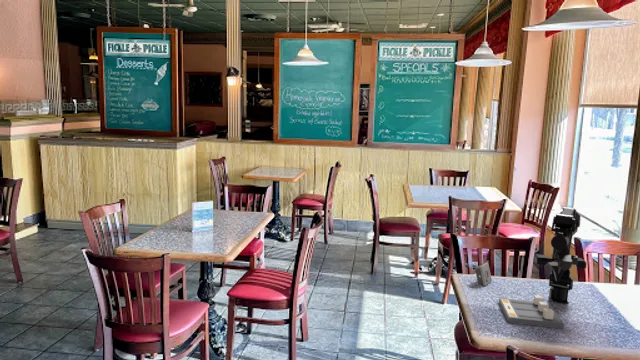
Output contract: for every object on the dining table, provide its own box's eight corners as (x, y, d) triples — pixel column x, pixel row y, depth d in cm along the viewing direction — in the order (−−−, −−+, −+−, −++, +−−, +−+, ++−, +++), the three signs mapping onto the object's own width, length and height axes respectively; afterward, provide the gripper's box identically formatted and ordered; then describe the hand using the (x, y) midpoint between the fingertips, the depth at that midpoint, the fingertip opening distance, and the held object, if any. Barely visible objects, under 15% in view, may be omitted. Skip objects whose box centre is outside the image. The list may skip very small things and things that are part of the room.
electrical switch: (485, 286, 220) (485, 267, 219) (474, 284, 223) (474, 265, 222) (492, 281, 227) (491, 263, 226) (481, 280, 230) (481, 261, 230)
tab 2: (550, 316, 183) (551, 309, 182) (553, 319, 180) (553, 312, 179) (542, 315, 183) (543, 308, 183) (544, 318, 180) (545, 311, 180)
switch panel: (548, 307, 198) (548, 302, 197) (563, 328, 178) (563, 322, 178) (498, 302, 201) (499, 297, 201) (508, 322, 182) (508, 317, 181)
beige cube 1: (540, 302, 196) (541, 295, 196) (542, 305, 193) (543, 298, 193) (533, 301, 197) (534, 295, 196) (535, 304, 194) (535, 297, 194)
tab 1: (545, 309, 190) (546, 302, 189) (547, 312, 187) (548, 305, 186) (537, 308, 190) (538, 301, 190) (539, 311, 187) (540, 304, 187)
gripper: (542, 248, 184) (538, 285, 186) (593, 252, 181) (589, 290, 183) (535, 240, 195) (531, 276, 197) (583, 244, 192) (579, 280, 194)
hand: (557, 281), depth 193 cm, fingers closed
